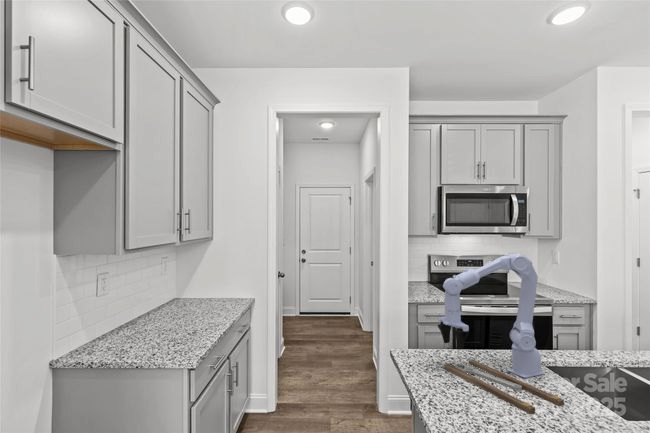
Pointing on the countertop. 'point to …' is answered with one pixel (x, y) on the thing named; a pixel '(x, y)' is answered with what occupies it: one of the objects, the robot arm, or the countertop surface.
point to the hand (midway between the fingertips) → (453, 345)
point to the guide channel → (501, 394)
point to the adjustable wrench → (488, 376)
